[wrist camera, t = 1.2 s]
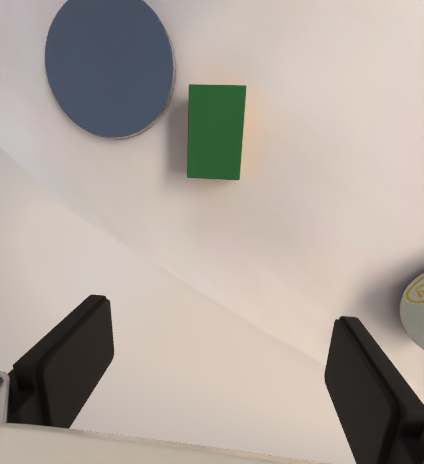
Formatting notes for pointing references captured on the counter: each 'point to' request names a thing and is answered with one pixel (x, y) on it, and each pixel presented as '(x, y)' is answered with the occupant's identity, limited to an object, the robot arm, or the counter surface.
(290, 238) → the counter surface
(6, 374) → the robot arm
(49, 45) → the plate
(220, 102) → the sponge
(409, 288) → the air freshener
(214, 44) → the counter surface
